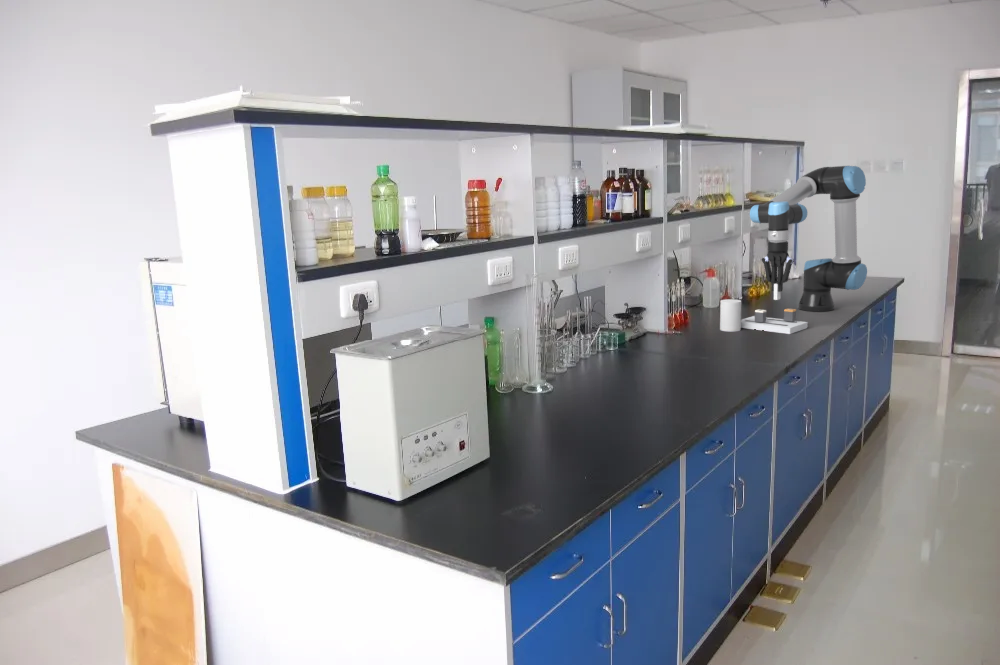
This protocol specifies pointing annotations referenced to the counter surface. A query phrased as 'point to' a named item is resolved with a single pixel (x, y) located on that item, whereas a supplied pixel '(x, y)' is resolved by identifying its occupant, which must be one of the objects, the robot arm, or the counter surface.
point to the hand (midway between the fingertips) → (777, 299)
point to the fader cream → (760, 315)
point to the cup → (730, 315)
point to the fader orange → (790, 315)
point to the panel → (774, 325)
